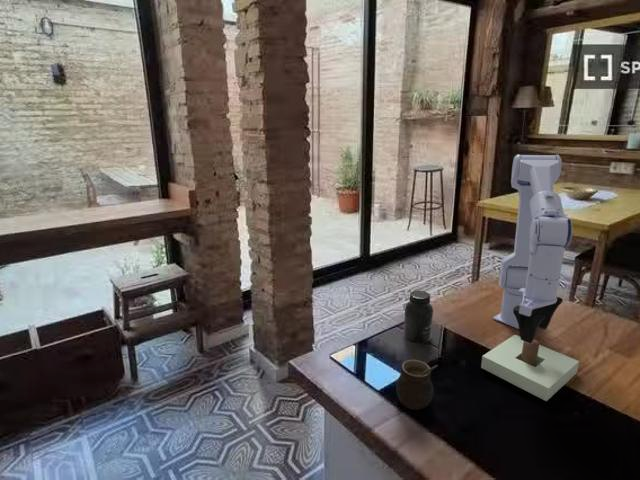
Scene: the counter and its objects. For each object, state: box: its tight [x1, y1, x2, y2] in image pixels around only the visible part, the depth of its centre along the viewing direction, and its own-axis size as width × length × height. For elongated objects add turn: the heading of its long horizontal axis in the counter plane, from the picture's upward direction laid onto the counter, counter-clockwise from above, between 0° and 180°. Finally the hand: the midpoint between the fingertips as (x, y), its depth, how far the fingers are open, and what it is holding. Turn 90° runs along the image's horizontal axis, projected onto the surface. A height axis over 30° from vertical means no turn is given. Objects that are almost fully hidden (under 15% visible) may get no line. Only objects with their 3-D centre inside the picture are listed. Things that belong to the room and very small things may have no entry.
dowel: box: [521, 339, 540, 367], centre depth 86 cm, size 3×3×7 cm
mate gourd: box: [395, 359, 438, 411], centre depth 77 cm, size 7×8×10 cm
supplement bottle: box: [403, 290, 434, 345], centre depth 99 cm, size 7×7×12 cm
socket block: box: [480, 334, 580, 402], centre depth 87 cm, size 14×14×3 cm
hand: (533, 333), depth 85 cm, fingers open, 7 cm apart
